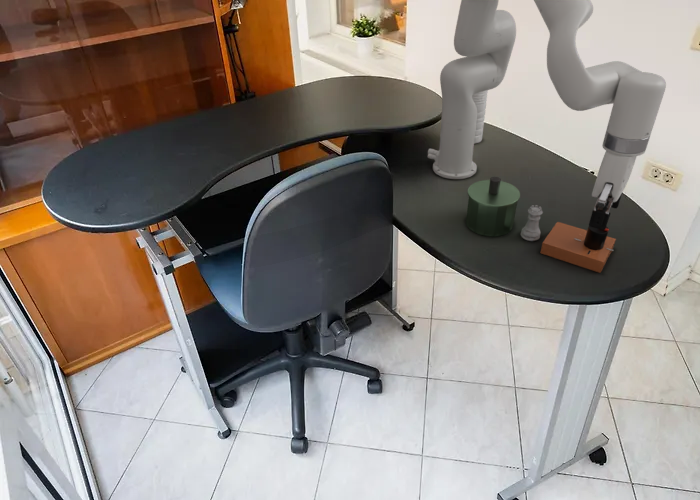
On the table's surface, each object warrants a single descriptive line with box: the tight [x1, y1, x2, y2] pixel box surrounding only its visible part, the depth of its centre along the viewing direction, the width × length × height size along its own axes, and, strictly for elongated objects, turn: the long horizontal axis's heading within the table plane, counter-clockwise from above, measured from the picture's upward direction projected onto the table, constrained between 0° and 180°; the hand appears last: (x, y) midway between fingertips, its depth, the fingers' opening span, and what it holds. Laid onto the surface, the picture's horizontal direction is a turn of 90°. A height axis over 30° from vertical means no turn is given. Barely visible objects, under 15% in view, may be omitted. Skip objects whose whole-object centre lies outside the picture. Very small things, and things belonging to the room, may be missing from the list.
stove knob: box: [584, 225, 610, 250], centre depth 109 cm, size 4×4×5 cm
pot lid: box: [467, 176, 521, 207], centre depth 118 cm, size 12×12×5 cm
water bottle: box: [472, 90, 489, 145], centre depth 156 cm, size 9×6×25 cm
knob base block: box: [540, 221, 617, 274], centre depth 113 cm, size 14×10×3 cm
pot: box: [465, 196, 519, 238], centre depth 122 cm, size 11×11×8 cm
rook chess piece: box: [520, 204, 544, 242], centre depth 117 cm, size 4×4×8 cm
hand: (603, 216), depth 106 cm, fingers open, 9 cm apart
